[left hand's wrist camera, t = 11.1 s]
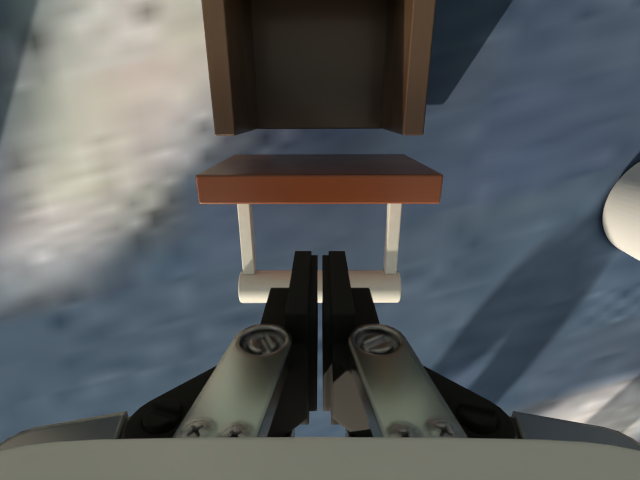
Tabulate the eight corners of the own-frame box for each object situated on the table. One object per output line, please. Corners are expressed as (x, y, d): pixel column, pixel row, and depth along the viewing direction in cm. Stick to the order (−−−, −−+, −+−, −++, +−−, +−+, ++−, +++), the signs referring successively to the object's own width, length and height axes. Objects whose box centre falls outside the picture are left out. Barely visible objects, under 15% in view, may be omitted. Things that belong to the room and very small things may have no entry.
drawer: (395, 270, 23) (425, 332, 16) (244, 270, 23) (214, 333, 16) (436, -251, 15) (528, -535, 8) (200, -250, 15) (106, -533, 8)
